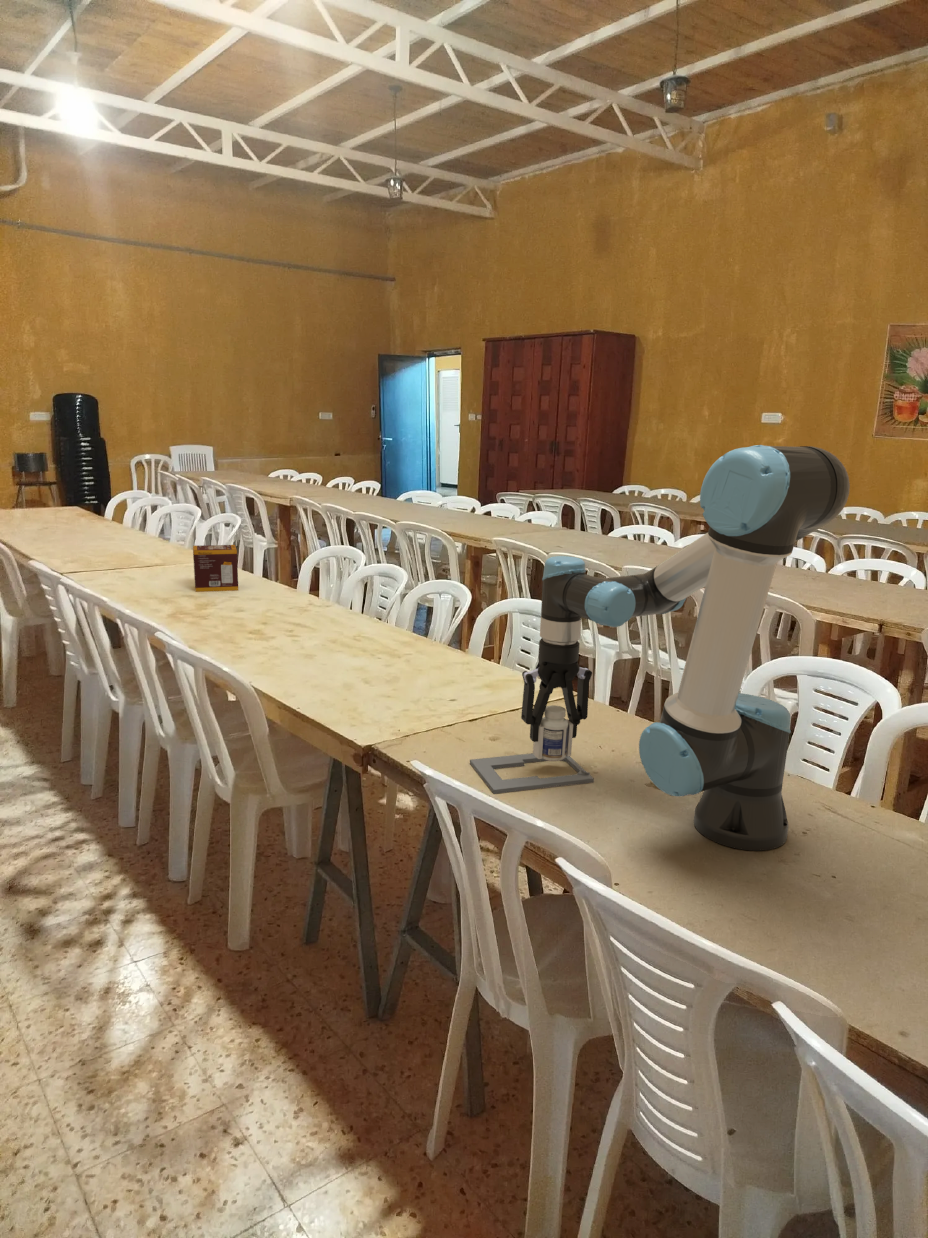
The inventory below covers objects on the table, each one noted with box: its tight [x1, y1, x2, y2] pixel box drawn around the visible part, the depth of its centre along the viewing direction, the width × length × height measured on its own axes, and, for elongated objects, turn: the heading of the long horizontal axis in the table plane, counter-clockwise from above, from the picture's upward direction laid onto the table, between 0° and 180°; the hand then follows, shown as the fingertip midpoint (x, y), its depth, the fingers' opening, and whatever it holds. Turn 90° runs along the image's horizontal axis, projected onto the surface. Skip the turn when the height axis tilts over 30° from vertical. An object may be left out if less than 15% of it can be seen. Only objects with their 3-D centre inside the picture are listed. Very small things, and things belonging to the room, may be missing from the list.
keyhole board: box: [469, 752, 595, 795], centre depth 163 cm, size 14×20×1 cm
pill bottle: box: [541, 704, 568, 762], centre depth 163 cm, size 5×5×10 cm
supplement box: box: [192, 544, 239, 593], centre depth 314 cm, size 10×15×16 cm
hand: (551, 754), depth 164 cm, fingers closed on pill bottle, 5 cm apart
